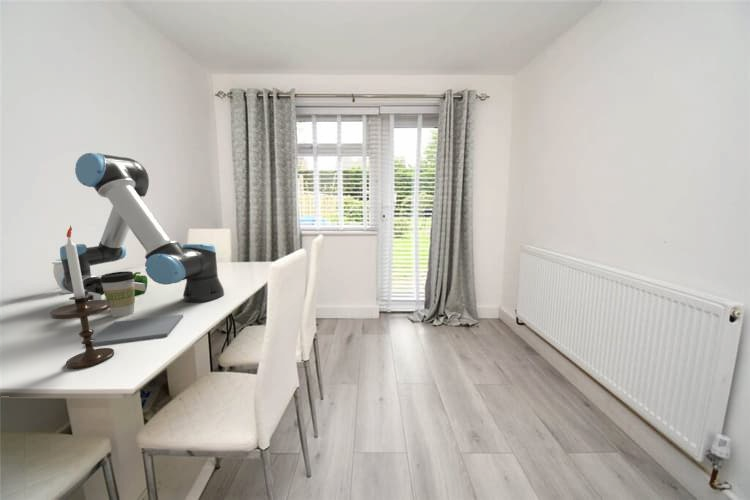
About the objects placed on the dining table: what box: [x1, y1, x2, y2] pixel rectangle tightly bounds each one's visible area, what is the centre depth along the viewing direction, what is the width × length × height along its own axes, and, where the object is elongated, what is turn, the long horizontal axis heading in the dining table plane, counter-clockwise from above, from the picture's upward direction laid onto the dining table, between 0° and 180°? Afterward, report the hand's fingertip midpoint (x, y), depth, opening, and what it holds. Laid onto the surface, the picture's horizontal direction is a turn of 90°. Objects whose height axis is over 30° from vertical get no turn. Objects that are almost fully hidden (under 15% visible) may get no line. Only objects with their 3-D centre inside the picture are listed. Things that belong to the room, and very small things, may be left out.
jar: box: [51, 258, 74, 294], centre depth 135 cm, size 11×10×15 cm
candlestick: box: [49, 225, 115, 370], centre depth 74 cm, size 11×11×35 cm
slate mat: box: [92, 314, 184, 347], centre depth 94 cm, size 20×16×1 cm
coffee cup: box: [100, 270, 136, 318], centre depth 107 cm, size 10×10×15 cm
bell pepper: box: [133, 271, 148, 296], centre depth 131 cm, size 8×8×10 cm
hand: (123, 292), depth 106 cm, fingers open, 13 cm apart
